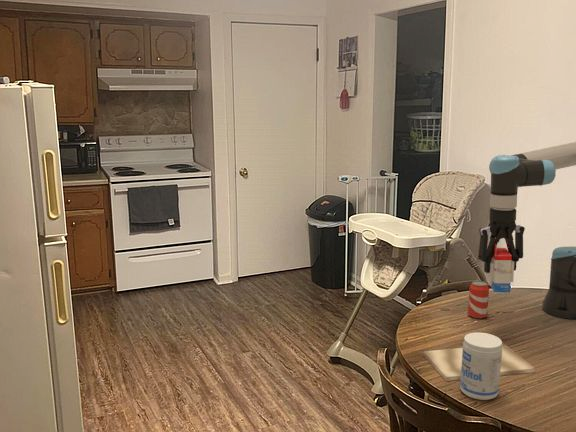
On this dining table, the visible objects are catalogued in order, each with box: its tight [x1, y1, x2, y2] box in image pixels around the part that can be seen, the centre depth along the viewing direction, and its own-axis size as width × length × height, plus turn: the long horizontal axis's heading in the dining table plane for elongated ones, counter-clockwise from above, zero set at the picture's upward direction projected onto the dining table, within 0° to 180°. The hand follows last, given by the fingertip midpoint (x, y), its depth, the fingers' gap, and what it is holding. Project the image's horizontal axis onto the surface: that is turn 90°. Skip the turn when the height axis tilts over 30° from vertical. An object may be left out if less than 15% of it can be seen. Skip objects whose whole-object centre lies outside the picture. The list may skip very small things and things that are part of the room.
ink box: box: [488, 244, 512, 293], centre depth 177 cm, size 8×5×15 cm, turn 172°
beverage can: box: [467, 280, 490, 320], centre depth 199 cm, size 6×6×12 cm
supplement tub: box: [459, 332, 503, 401], centre depth 149 cm, size 10×10×15 cm
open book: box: [422, 343, 536, 382], centre depth 166 cm, size 26×16×2 cm, turn 99°
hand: (499, 281), depth 178 cm, fingers closed on ink box, 6 cm apart
